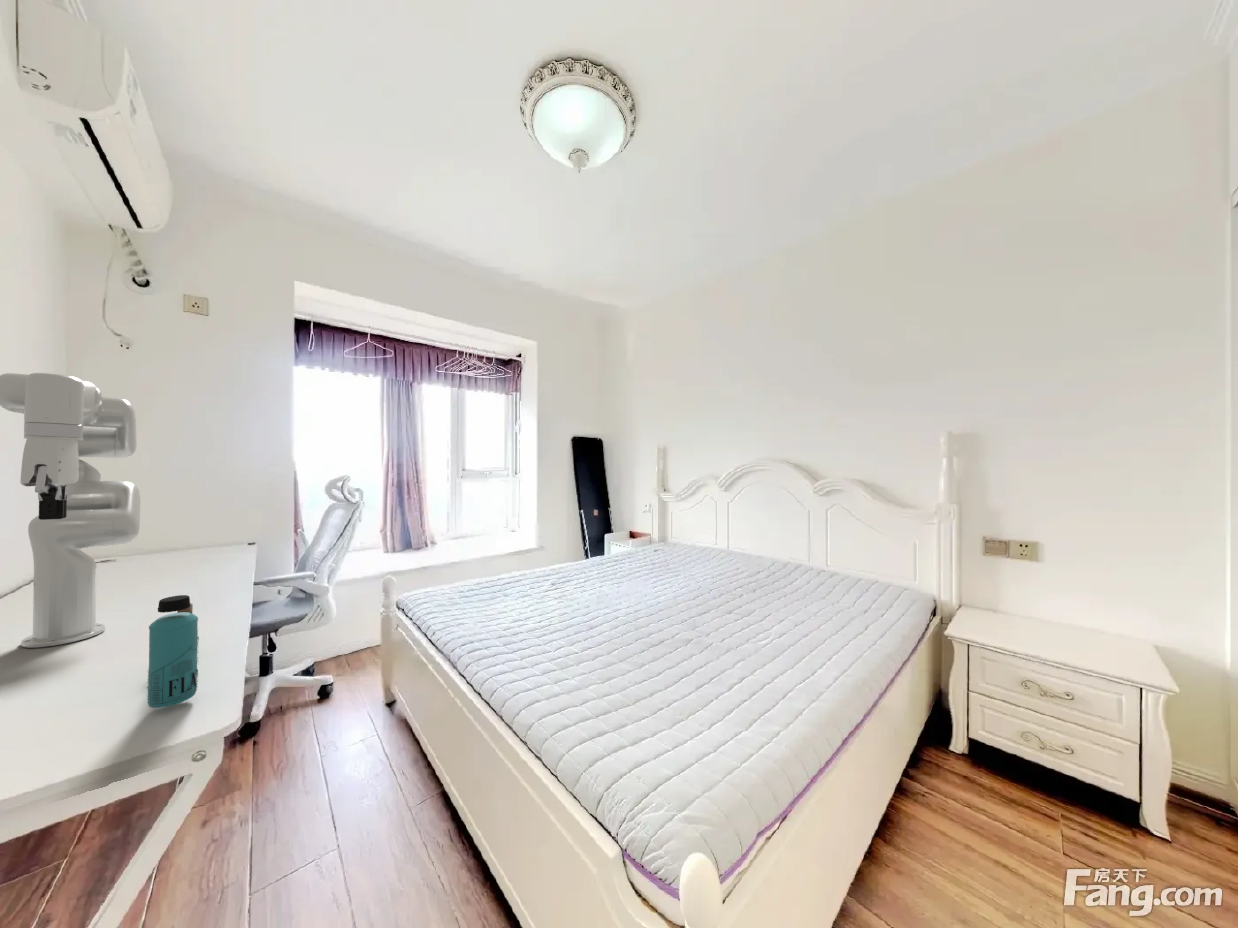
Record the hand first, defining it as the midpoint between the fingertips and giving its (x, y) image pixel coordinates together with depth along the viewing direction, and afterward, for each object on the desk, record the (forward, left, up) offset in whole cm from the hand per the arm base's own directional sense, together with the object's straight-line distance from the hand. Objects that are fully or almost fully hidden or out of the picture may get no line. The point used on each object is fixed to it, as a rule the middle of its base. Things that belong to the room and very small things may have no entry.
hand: (52, 518), depth 90 cm
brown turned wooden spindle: (+8, +22, -32) cm, 39 cm away
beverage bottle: (+33, +25, -32) cm, 53 cm away
